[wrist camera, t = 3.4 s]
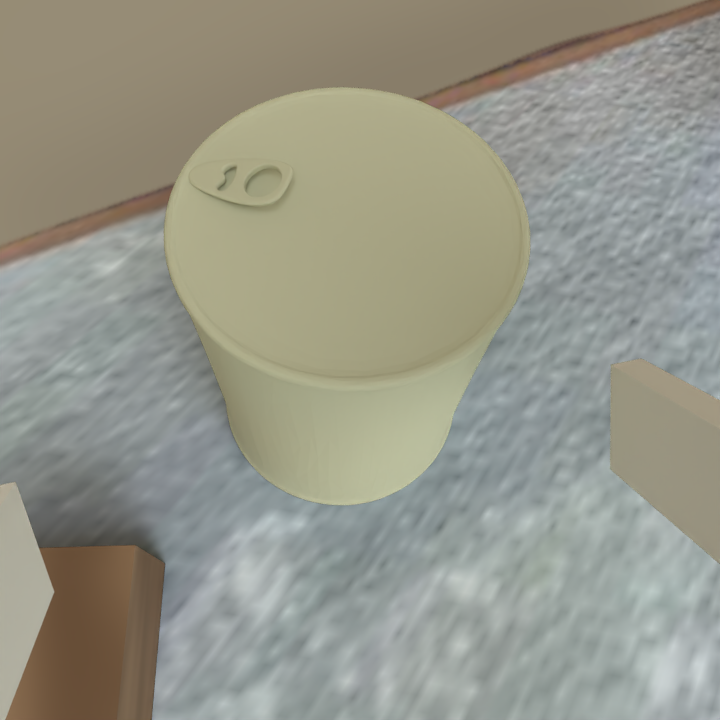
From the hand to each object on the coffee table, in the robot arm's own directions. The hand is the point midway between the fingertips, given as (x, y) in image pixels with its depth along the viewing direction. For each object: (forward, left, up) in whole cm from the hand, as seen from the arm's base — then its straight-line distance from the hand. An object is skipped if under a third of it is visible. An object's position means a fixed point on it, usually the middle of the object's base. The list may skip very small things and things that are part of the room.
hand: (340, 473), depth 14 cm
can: (0, -6, -11) cm, 13 cm away
